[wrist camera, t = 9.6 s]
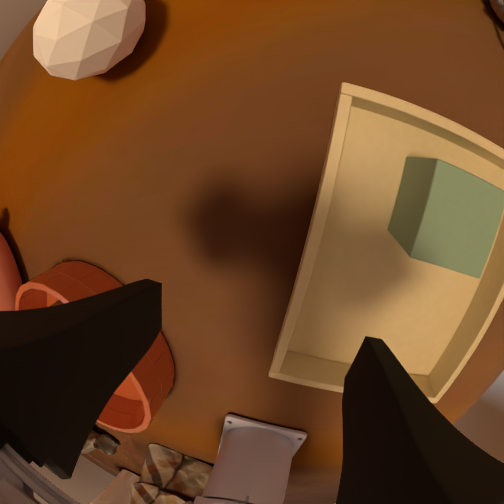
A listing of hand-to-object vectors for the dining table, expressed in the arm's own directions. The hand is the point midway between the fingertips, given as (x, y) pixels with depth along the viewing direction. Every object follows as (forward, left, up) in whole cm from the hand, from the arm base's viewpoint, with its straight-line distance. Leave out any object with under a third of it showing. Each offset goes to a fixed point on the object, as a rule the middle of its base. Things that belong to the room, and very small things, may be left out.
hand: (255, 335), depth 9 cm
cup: (-57, +17, -9) cm, 60 cm away
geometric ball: (+13, +14, -9) cm, 21 cm away
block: (+5, -8, -8) cm, 12 cm away
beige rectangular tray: (+1, -8, -9) cm, 12 cm away
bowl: (-14, +15, -9) cm, 22 cm away
